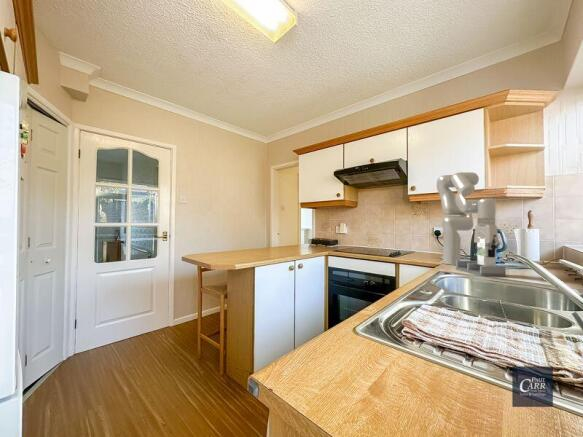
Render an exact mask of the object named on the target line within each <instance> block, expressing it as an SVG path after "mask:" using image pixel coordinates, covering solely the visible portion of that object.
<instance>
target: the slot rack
mask: <svg viewBox="0 0 583 437" xmlns="http://www.w3.org/2000/svg"><path fill="white" fill-rule="evenodd" d="M455 269H456V270H457V271H460V270H461V271H460V272H464V273H465V272H466V273H469V274H472V275H475V276H480V277H506V272H507V271H506V266H505V265H502V266H501V265H499V266H498V265H496V266H482V265H478V264H477V260H460V261H456V265H455Z"/></svg>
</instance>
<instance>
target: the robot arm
mask: <svg viewBox="0 0 583 437" xmlns="http://www.w3.org/2000/svg"><path fill="white" fill-rule="evenodd" d="M479 180H480V179H479V176H478V174H477V173H476V172H467V171H466V172H463V171H460V172H455V173H454V174H443V175H440V176H439V177H438V178H437V180H436V189H437V192H438V195H439V197H440V203H441V204H440V205H441V209H442V213H443V214H444V215H446V216H445V217H443V218H442V220H441V226H442V232H443V233H442V234H443V240H442V241H443V243H442V244H443V245H442V246H443V247H442V250H443V252H442V256H440V259H442V260H440V263H441V264H444V265H453V266H456V261H461V244H462V243H461V236H460V233H459V232H458V231H467V232H468V231H471V230H472V229H473V228H474V219H473V214H477V220H476V223H477V224H476V226H475V228H474V235H473V238H474V239H473V243H474V244H475V246H476V247H477V243H478V242H480V239H485V243H486V244H488V246H489V249H488V257H495V258H496V250H497V248H498V247H499V246H500V245H501V242H500V241H499V237H498V236H499V234H498V226H497V222H496V221H497V220H496V218H497V216H496V214H497V212H496V209H497V207H496V206H497V201H496V199H494V198H481V199H466V197H468V196H470V195H472V194H473V193H474V192H475V191H476V190H475V188H476V187H475V186H476V185H477V184H478V183H479ZM451 188H454V189H455V190H456V191H457V193H456V194H455V193H454V192H453V191H452V189H451ZM492 242H493V243H492ZM491 245H492V246H491Z"/></svg>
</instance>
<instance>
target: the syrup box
mask: <svg viewBox="0 0 583 437" xmlns="http://www.w3.org/2000/svg"><path fill="white" fill-rule="evenodd" d="M492 243H493V242H492ZM491 246H492V245H491ZM488 249H489V246H488V244H486V243H485V239H480V242H478V243H477V246H476V258H477V259H476V261H477V264H478V265H482V266H497V265H496V263H497V262H496V260H497V259H496V256H495V257H488Z"/></svg>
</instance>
